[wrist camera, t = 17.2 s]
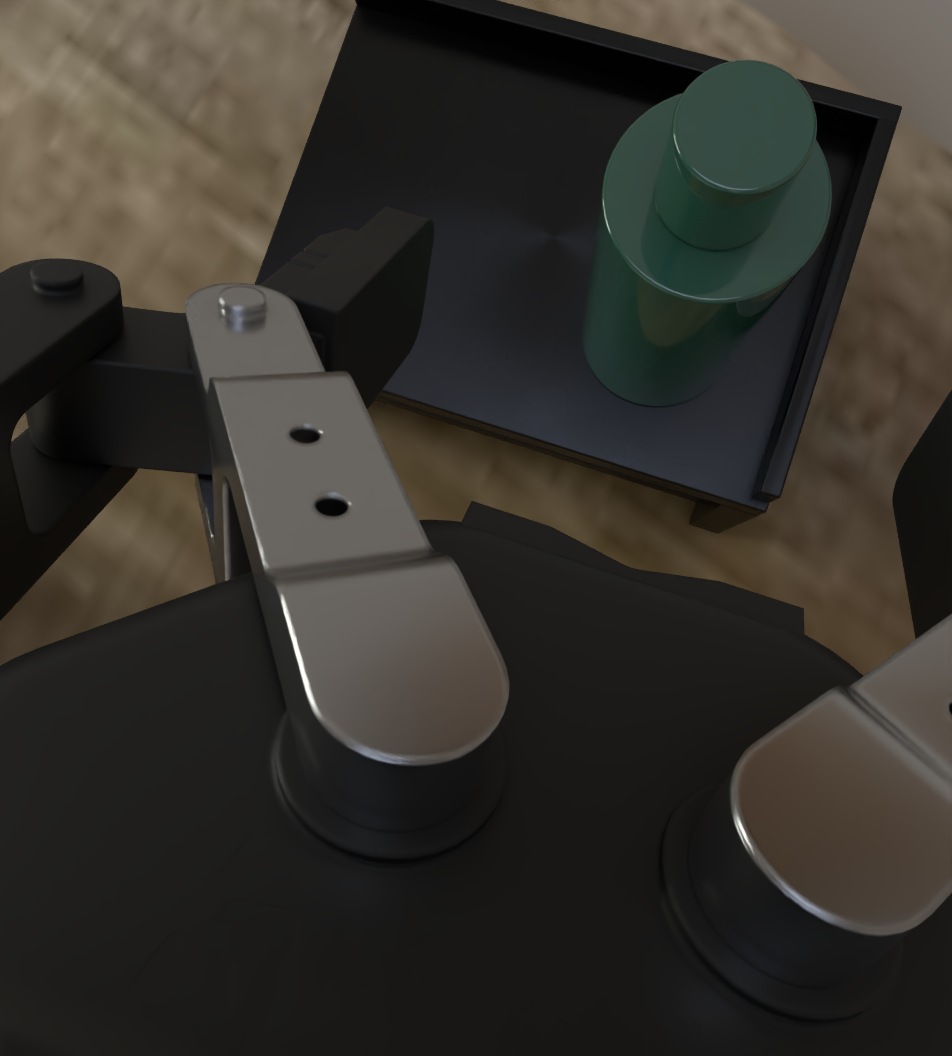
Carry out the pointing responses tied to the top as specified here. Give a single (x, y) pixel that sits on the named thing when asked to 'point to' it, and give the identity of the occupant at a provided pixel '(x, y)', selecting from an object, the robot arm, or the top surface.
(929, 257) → the top surface
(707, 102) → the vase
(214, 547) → the robot arm
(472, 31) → the black rectangular case
